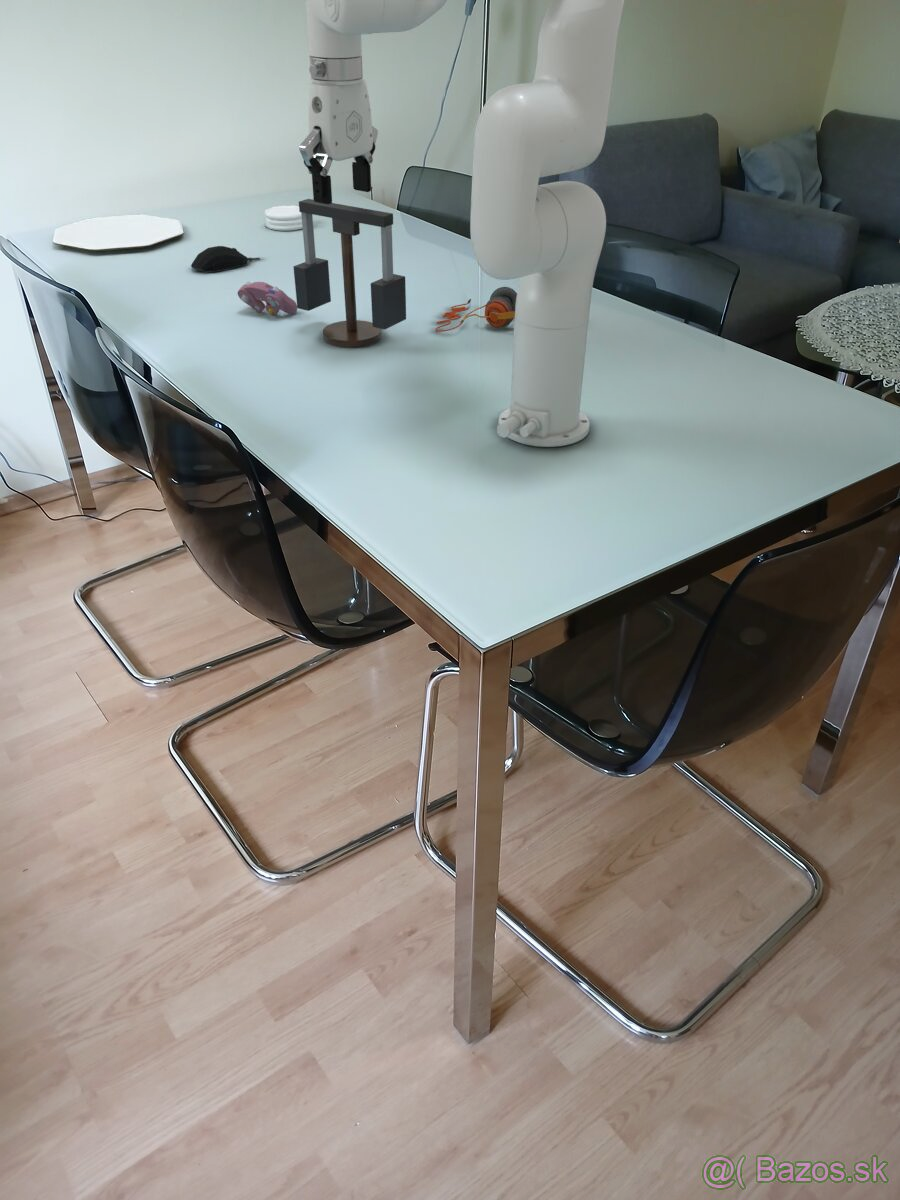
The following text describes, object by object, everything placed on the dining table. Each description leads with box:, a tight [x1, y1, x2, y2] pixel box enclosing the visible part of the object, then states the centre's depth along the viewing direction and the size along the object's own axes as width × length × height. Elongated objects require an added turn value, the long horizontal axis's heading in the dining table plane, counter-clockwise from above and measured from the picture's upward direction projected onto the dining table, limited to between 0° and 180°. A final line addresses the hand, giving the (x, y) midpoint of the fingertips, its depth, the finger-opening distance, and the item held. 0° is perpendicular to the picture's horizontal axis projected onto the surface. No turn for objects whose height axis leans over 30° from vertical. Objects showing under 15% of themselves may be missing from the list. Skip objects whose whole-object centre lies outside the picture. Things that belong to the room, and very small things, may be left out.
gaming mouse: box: [190, 245, 261, 273], centre depth 187 cm, size 6×15×4 cm, turn 127°
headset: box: [293, 198, 407, 330], centre depth 148 cm, size 6×18×17 cm, turn 57°
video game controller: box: [237, 281, 298, 317], centre depth 163 cm, size 10×5×7 cm, turn 62°
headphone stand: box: [321, 218, 383, 349], centre depth 149 cm, size 10×10×19 cm
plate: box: [52, 214, 185, 252], centre depth 204 cm, size 28×28×2 cm
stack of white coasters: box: [264, 205, 303, 232], centre depth 213 cm, size 10×10×4 cm
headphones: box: [435, 286, 517, 333], centre depth 160 cm, size 17×5×20 cm
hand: (343, 196), depth 142 cm, fingers open, 9 cm apart
